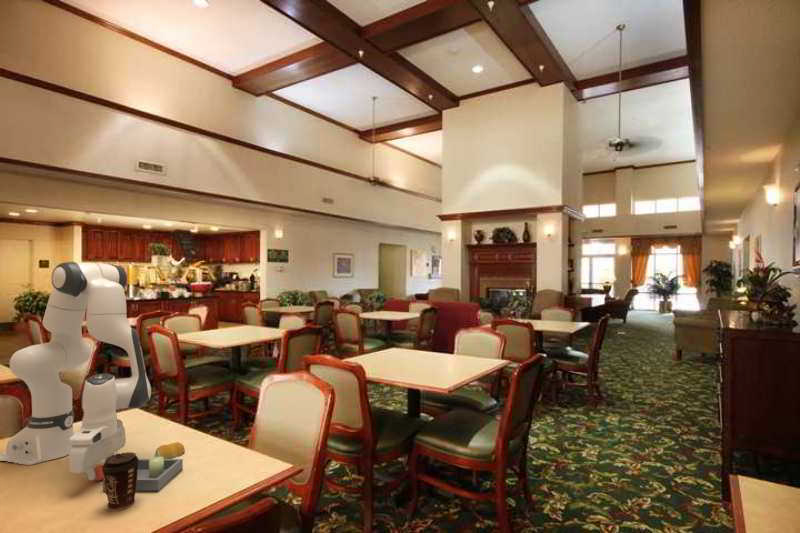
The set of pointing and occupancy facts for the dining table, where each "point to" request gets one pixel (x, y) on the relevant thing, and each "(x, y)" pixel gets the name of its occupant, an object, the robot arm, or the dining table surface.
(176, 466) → the bin
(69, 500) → the dining table surface
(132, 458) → the coffee cup
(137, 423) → the dining table surface
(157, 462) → the pale green capsule
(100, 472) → the red ball
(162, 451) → the bread roll
